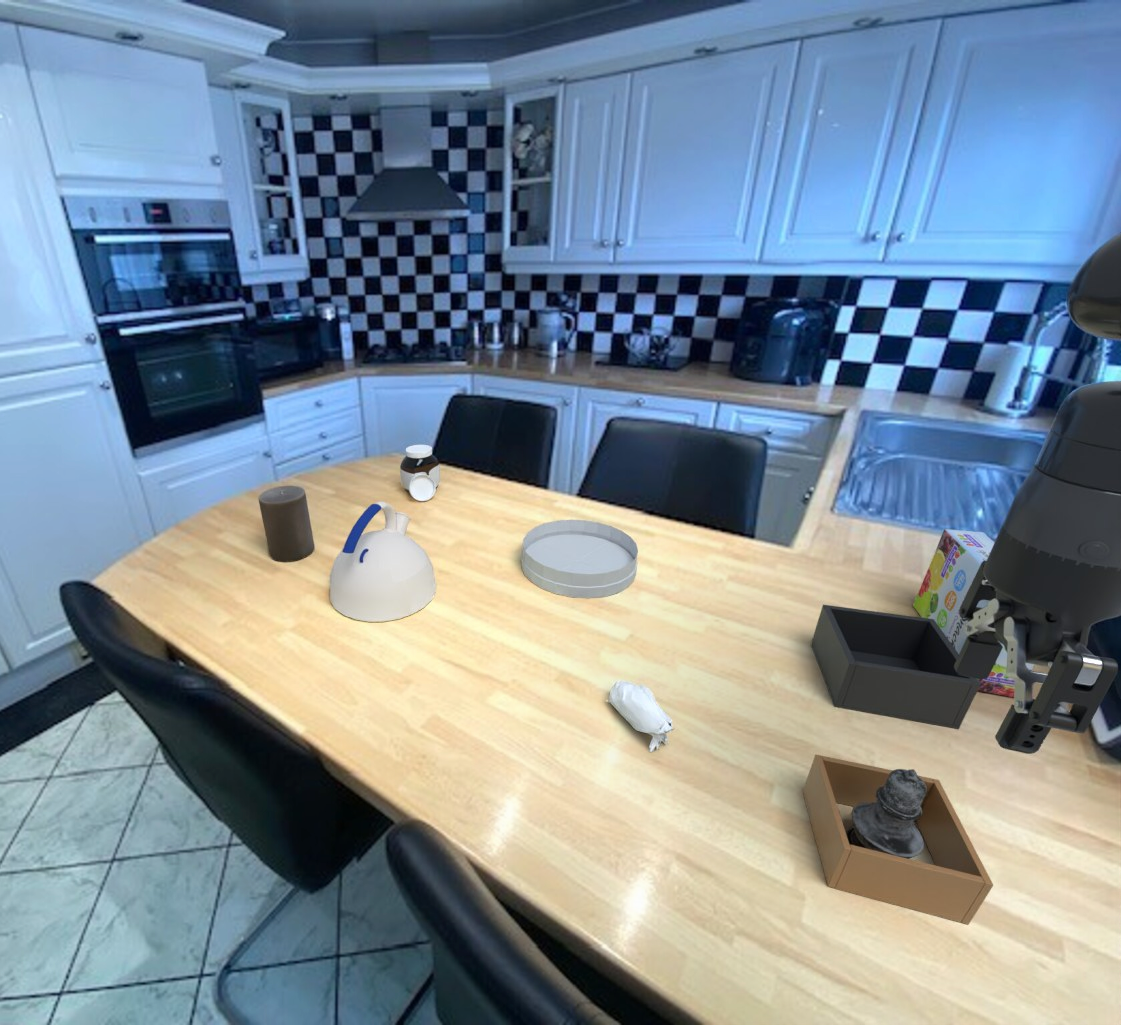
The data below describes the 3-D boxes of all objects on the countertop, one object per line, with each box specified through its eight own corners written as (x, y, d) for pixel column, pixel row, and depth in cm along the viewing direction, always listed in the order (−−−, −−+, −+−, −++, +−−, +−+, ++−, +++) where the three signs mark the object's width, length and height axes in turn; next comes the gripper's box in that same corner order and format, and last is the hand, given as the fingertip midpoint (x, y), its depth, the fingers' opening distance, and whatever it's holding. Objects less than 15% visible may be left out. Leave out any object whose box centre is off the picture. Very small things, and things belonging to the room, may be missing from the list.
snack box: (1022, 700, 75) (1072, 607, 68) (970, 691, 77) (1014, 600, 70) (950, 610, 93) (984, 529, 86) (909, 604, 95) (940, 525, 88)
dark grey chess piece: (867, 816, 61) (901, 736, 56) (926, 865, 56) (969, 783, 51) (829, 836, 60) (860, 756, 54) (886, 888, 55) (927, 806, 49)
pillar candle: (292, 566, 116) (280, 501, 110) (260, 555, 121) (246, 492, 114) (324, 546, 123) (314, 483, 117) (292, 536, 128) (281, 476, 122)
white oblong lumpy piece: (679, 743, 73) (628, 682, 80) (688, 718, 68) (634, 656, 75) (648, 761, 72) (600, 697, 79) (655, 737, 67) (603, 672, 74)
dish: (498, 567, 112) (498, 545, 110) (565, 530, 125) (566, 509, 123) (592, 613, 97) (595, 589, 94) (658, 565, 110) (661, 543, 107)
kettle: (454, 573, 111) (451, 489, 103) (405, 634, 94) (397, 540, 86) (366, 555, 119) (357, 476, 111) (307, 609, 102) (291, 520, 94)
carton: (920, 817, 61) (939, 779, 58) (969, 924, 51) (993, 885, 49) (802, 790, 64) (815, 753, 62) (827, 886, 55) (844, 847, 52)
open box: (916, 660, 83) (933, 619, 79) (959, 729, 71) (980, 684, 68) (810, 644, 87) (822, 604, 84) (834, 706, 76) (849, 663, 72)
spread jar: (426, 481, 155) (424, 440, 149) (454, 492, 147) (452, 450, 142) (391, 493, 148) (388, 452, 143) (418, 506, 140) (415, 462, 135)
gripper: (1234, 601, 32) (1101, 794, 39) (1091, 501, 44) (1009, 664, 51) (1059, 578, 35) (965, 762, 42) (969, 490, 46) (907, 646, 53)
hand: (989, 708), depth 46 cm, fingers open, 8 cm apart
